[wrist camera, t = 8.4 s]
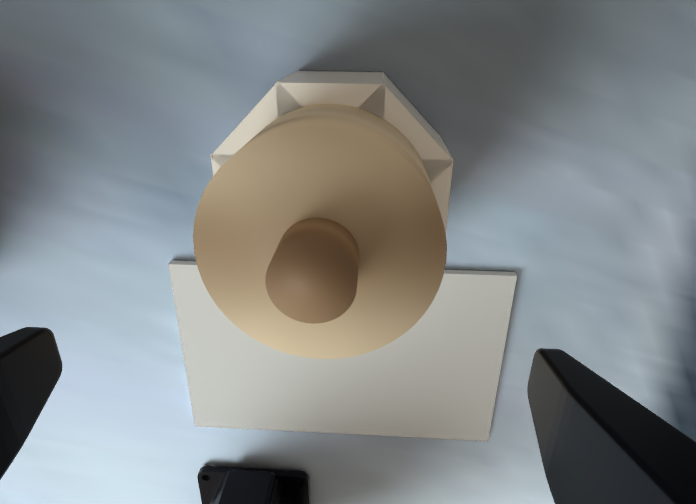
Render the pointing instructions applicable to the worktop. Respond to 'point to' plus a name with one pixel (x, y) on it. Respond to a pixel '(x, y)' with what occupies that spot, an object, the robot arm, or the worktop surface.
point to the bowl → (357, 92)
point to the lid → (322, 234)
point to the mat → (353, 368)
